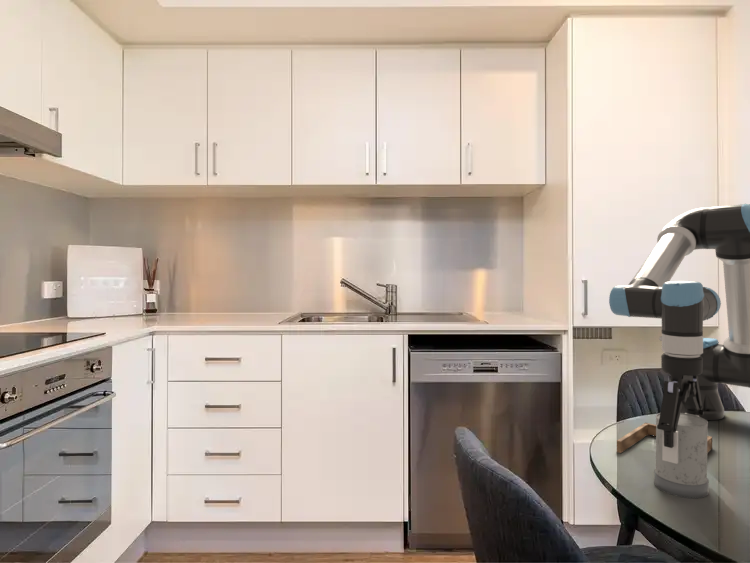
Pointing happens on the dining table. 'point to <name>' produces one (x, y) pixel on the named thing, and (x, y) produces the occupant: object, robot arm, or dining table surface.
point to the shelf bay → (641, 433)
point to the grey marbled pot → (685, 452)
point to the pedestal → (681, 488)
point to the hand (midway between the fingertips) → (681, 452)
